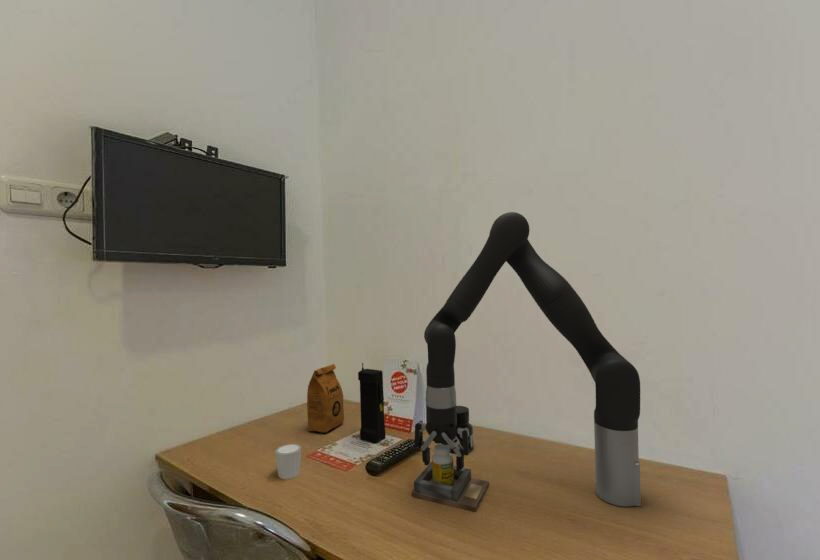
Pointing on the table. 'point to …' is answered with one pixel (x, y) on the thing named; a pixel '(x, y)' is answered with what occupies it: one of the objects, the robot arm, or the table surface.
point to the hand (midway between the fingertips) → (442, 466)
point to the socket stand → (451, 489)
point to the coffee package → (324, 400)
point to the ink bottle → (463, 424)
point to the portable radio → (371, 405)
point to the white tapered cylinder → (288, 460)
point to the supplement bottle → (442, 465)
